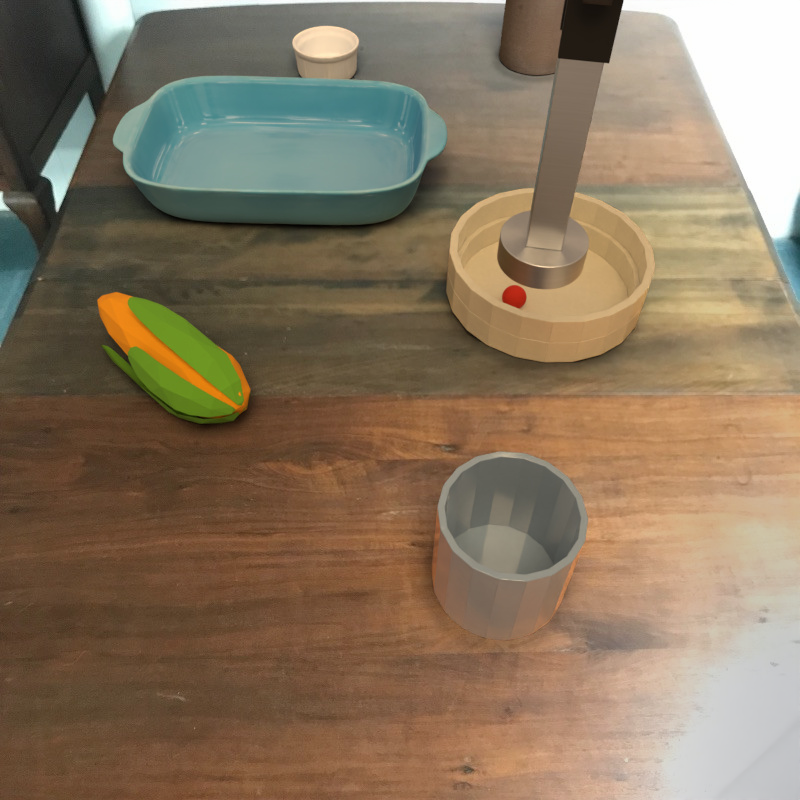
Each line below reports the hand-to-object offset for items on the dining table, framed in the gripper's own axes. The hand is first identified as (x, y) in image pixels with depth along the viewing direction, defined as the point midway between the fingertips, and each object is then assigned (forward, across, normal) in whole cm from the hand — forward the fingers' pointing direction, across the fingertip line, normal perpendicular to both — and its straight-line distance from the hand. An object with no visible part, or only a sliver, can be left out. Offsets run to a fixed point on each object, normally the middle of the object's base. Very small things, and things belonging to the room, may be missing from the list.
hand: (584, 42), depth 43 cm
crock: (+35, +15, 0) cm, 38 cm away
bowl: (+35, -18, +2) cm, 39 cm away
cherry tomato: (+33, -15, -1) cm, 36 cm away
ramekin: (+36, -57, -29) cm, 73 cm away
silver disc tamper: (+16, 0, 0) cm, 16 cm away
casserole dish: (+36, -32, -28) cm, 55 cm away
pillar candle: (+36, -66, -2) cm, 75 cm away
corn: (+35, 0, -31) cm, 47 cm away
